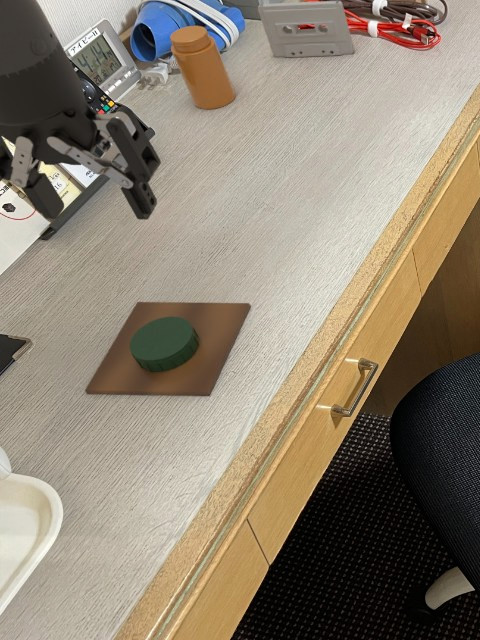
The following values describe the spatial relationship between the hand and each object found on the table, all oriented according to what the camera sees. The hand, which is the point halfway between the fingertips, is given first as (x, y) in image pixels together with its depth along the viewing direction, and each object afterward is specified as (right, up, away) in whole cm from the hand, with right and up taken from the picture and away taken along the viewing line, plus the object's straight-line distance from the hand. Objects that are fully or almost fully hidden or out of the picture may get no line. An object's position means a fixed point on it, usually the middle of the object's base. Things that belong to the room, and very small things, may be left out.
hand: (101, 213), depth 75 cm
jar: (-8, +22, +40) cm, 46 cm away
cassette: (+3, +31, +48) cm, 57 cm away
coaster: (+3, -12, +7) cm, 15 cm away
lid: (+3, -12, +6) cm, 13 cm away
